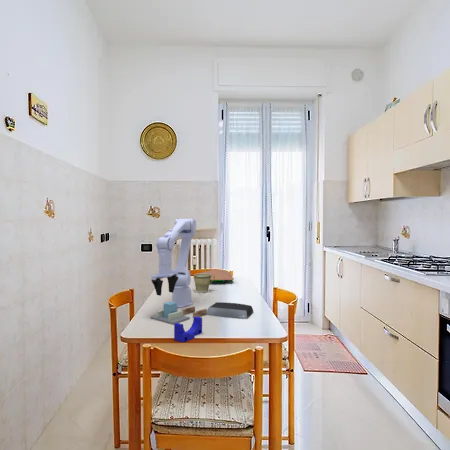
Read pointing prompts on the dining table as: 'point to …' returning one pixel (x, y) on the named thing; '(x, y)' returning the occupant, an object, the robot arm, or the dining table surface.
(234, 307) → the external hard drive
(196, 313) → the cradle
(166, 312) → the blue rectangular block
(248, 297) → the dining table surface
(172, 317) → the dock
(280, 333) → the dining table surface
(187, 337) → the blue cradle holder
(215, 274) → the sandwich
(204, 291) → the ceramic cup
